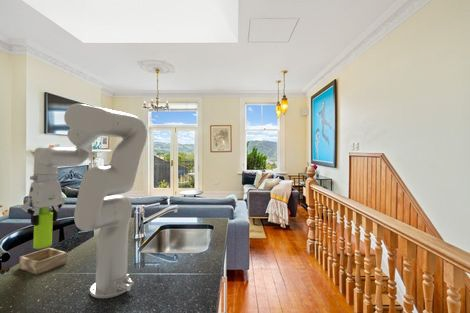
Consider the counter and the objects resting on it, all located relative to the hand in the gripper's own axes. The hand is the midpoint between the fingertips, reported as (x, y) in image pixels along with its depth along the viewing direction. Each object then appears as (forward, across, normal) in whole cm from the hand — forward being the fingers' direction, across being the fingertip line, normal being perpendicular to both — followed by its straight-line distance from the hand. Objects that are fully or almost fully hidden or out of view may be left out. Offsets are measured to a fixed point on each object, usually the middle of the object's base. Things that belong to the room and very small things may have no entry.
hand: (44, 222), depth 96 cm
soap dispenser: (+10, 0, 0) cm, 10 cm away
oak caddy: (+17, 0, 0) cm, 17 cm away
